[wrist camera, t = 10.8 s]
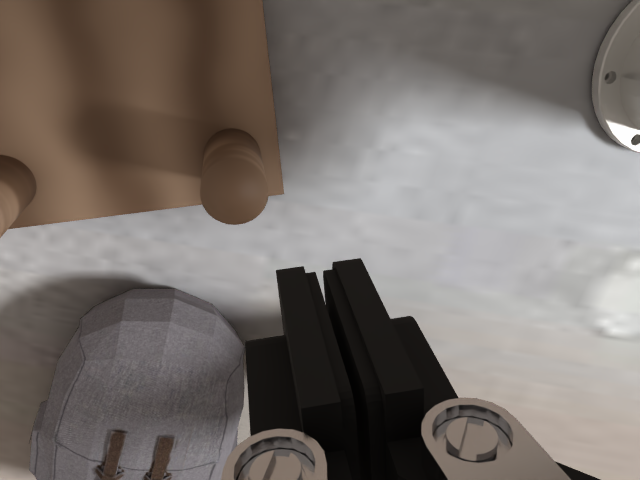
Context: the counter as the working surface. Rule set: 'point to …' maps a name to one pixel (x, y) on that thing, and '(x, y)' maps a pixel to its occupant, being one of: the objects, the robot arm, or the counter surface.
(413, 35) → the counter surface
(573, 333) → the counter surface
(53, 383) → the small grey backpack
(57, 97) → the wooden peg stand
